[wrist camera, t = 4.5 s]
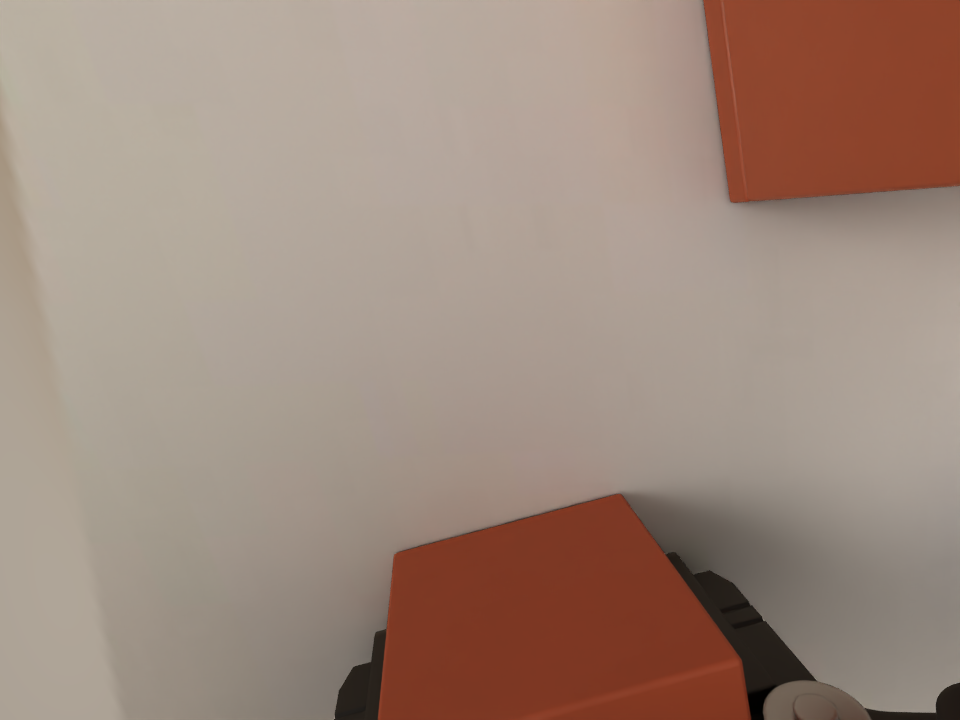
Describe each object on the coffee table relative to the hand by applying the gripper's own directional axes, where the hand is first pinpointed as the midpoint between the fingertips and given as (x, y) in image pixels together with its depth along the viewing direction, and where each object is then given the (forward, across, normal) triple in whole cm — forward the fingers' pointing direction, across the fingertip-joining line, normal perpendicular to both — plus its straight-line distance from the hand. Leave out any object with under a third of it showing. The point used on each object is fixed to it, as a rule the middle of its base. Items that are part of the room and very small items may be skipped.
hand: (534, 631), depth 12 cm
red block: (0, 0, 0) cm, 0 cm away
